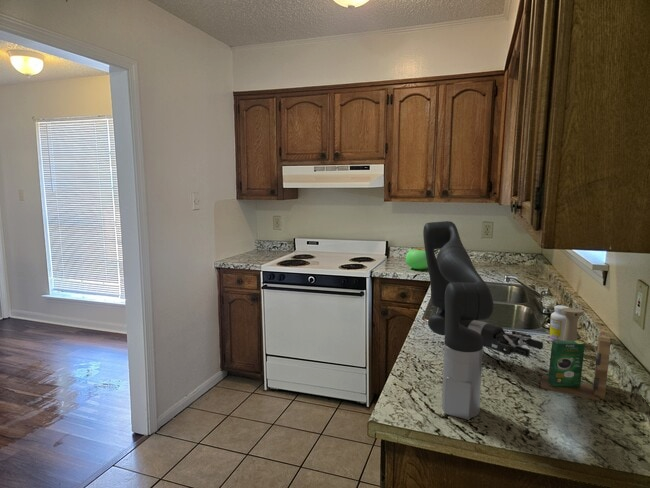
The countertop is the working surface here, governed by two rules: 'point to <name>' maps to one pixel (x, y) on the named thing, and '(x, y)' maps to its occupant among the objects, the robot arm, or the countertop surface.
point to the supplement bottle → (557, 323)
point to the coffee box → (566, 363)
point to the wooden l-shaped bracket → (600, 375)
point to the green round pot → (417, 258)
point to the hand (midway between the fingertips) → (536, 349)
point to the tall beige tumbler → (571, 323)
